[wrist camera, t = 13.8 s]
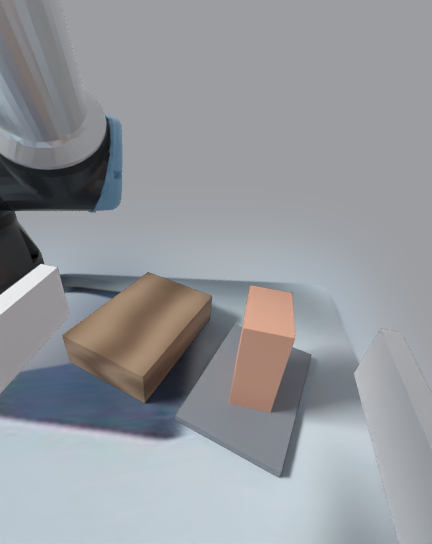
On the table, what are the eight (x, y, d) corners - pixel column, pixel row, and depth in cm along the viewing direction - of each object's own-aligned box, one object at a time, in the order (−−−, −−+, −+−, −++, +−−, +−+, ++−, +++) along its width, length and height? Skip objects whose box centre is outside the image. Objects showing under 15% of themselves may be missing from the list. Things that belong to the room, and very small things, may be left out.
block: (229, 403, 28) (243, 328, 22) (236, 355, 33) (250, 285, 27) (270, 412, 27) (295, 338, 22) (271, 363, 32) (292, 292, 27)
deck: (69, 361, 31) (62, 335, 29) (149, 295, 42) (148, 272, 40) (144, 403, 28) (142, 377, 26) (209, 319, 39) (212, 295, 37)
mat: (175, 420, 27) (175, 415, 26) (233, 328, 38) (234, 324, 37) (279, 477, 23) (281, 473, 23) (309, 359, 34) (311, 354, 34)
